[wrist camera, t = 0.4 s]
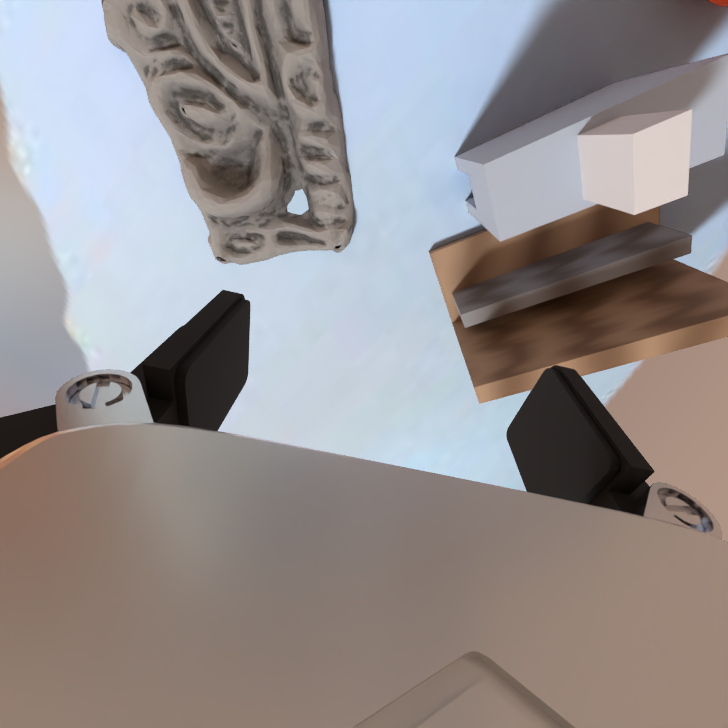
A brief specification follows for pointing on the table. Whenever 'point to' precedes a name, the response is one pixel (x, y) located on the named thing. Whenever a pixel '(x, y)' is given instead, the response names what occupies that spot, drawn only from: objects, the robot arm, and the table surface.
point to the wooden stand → (575, 297)
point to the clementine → (720, 2)
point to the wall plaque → (246, 116)
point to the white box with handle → (602, 150)
